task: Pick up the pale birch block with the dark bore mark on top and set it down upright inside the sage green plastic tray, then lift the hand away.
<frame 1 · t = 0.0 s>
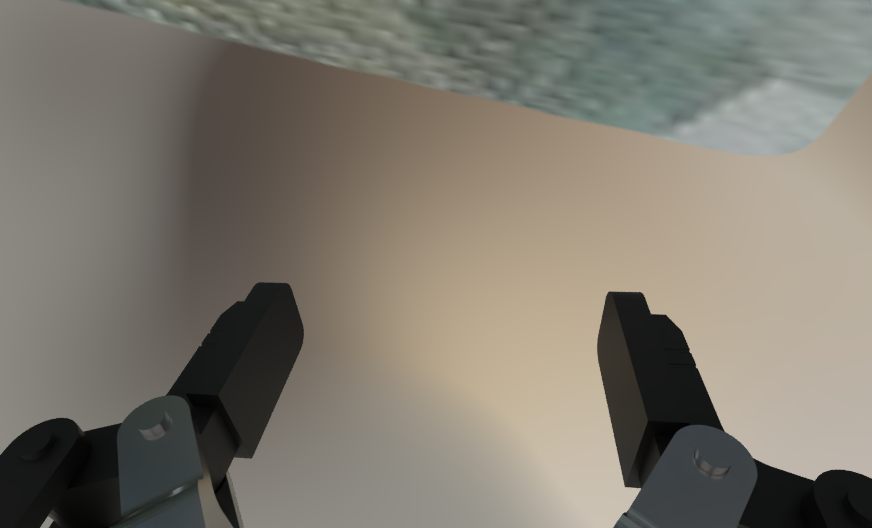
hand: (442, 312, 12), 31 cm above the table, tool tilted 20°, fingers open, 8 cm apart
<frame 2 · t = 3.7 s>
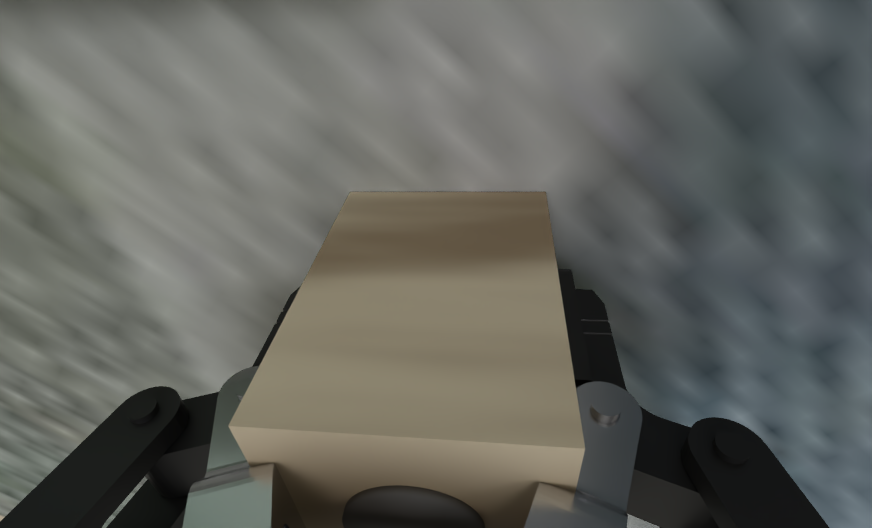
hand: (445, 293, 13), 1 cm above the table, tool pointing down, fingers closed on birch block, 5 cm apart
birch block: (449, 269, 14), on the table, touching gripper
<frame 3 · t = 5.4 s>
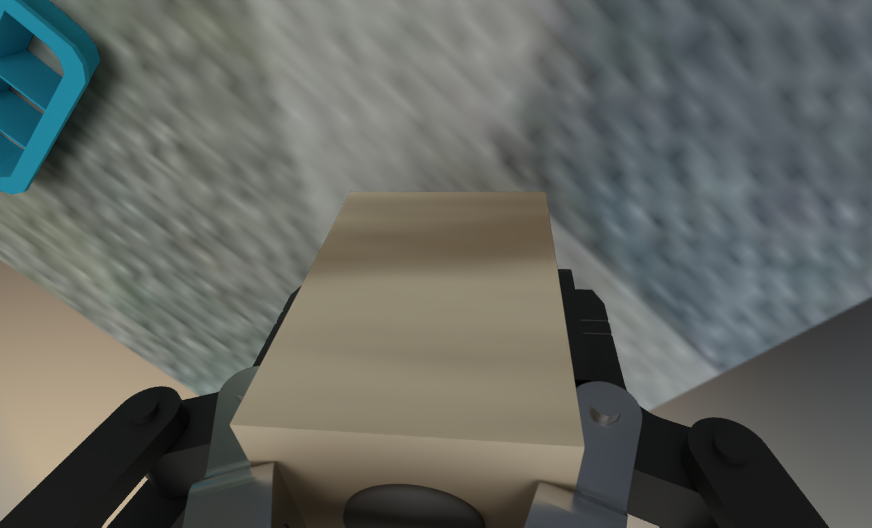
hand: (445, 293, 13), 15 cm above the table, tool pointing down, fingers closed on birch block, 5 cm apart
birch block: (449, 269, 14), point 14 cm above the table, touching gripper
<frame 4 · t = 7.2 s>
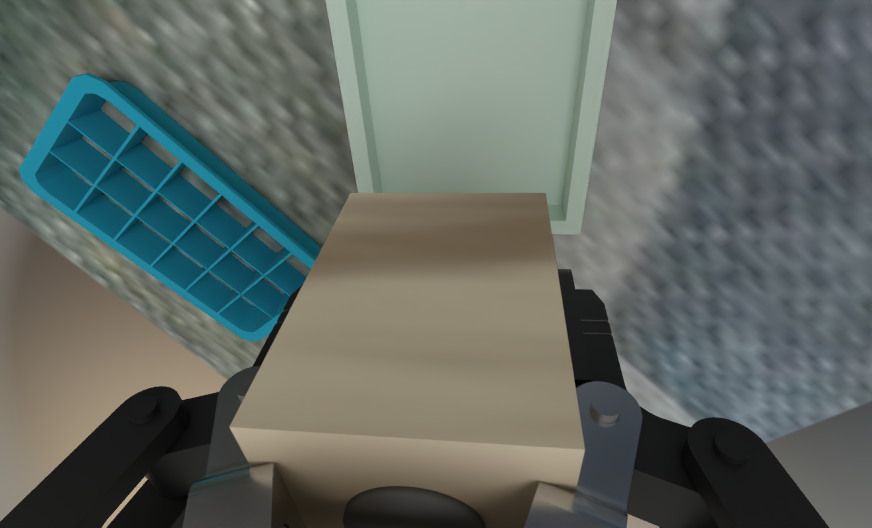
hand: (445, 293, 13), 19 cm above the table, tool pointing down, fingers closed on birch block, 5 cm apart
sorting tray: (470, 76, 28), on the table
ice cube tray: (205, 209, 36), on the table
birch block: (449, 270, 14), point 18 cm above the table, touching gripper
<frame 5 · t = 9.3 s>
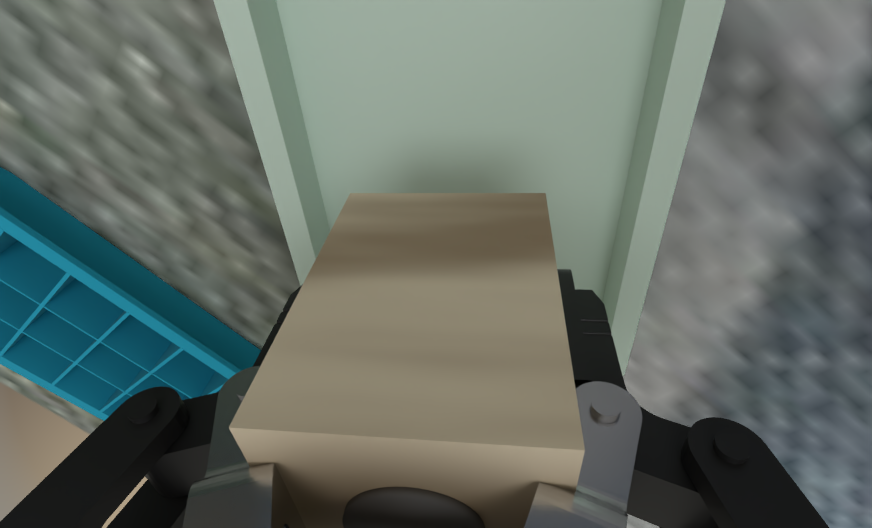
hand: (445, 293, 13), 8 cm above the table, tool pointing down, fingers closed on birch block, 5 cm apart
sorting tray: (467, 161, 19), on the table
ice cube tray: (124, 311, 28), on the table
birch block: (449, 270, 14), point 7 cm above the table, touching gripper
when the fingers open (3 cm above the table, at t = 11.1 s): birch block drops 1 cm, resting on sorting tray.
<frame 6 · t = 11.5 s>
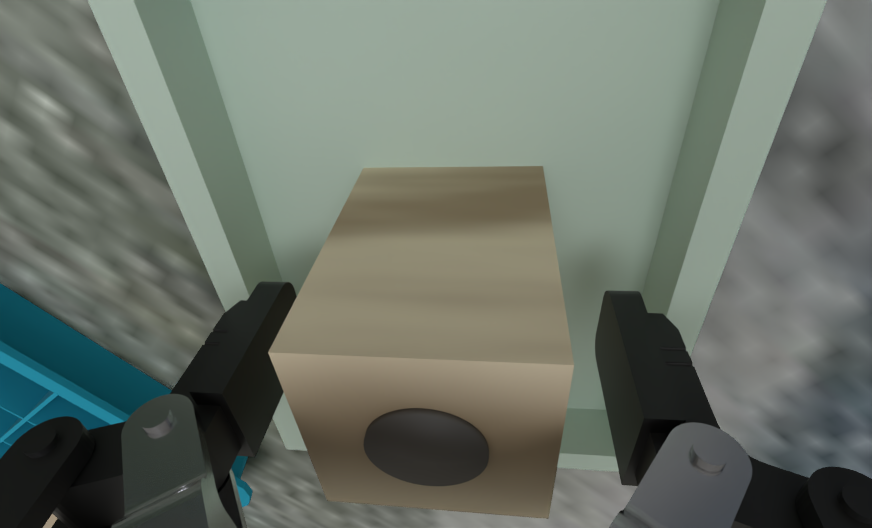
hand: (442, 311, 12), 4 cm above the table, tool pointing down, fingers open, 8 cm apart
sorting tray: (455, 224, 16), on the table
ice cube tray: (63, 375, 24), on the table
birch block: (454, 241, 15), point 1 cm above the table, touching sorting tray
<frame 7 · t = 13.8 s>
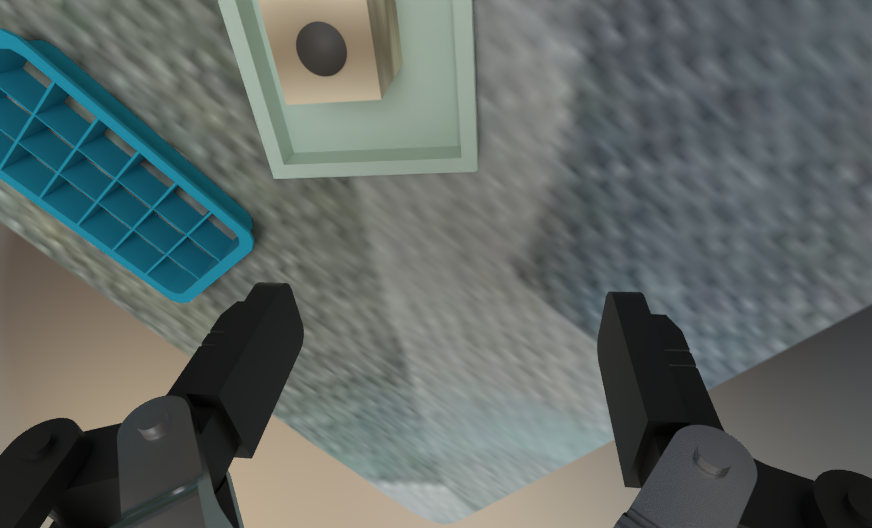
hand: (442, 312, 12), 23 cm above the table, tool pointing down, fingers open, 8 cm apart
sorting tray: (358, 18, 29), on the table
ice cube tray: (132, 171, 38), on the table
birch block: (356, 21, 28), point 1 cm above the table, touching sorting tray
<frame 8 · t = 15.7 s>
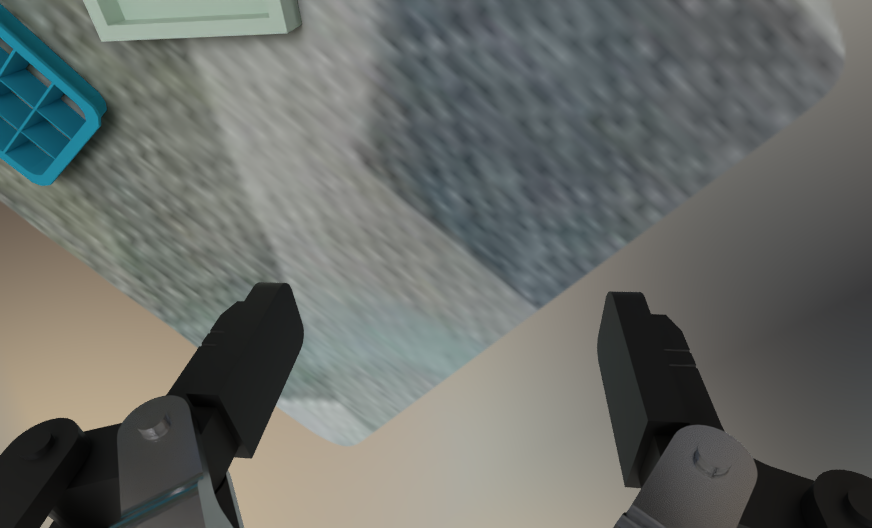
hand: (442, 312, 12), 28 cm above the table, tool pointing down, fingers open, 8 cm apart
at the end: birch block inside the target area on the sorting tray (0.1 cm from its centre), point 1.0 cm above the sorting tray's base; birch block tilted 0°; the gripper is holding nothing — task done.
